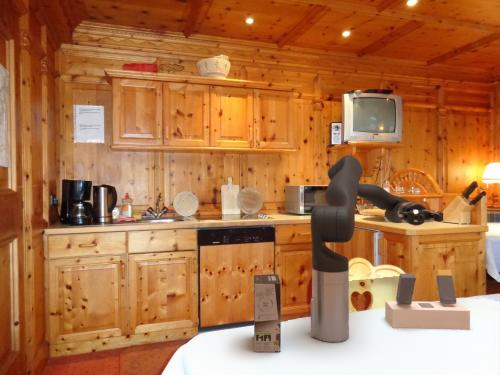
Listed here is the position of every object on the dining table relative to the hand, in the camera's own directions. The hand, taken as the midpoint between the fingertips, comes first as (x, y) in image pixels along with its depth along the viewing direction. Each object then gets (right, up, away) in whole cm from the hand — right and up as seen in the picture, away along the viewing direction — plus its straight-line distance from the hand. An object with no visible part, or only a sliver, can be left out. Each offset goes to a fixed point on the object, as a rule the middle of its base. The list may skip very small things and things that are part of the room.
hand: (431, 218), depth 113 cm
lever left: (-13, -23, -10) cm, 28 cm away
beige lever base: (-7, -28, -10) cm, 31 cm away
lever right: (-1, -22, -11) cm, 25 cm away
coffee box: (-51, -29, -22) cm, 63 cm away
